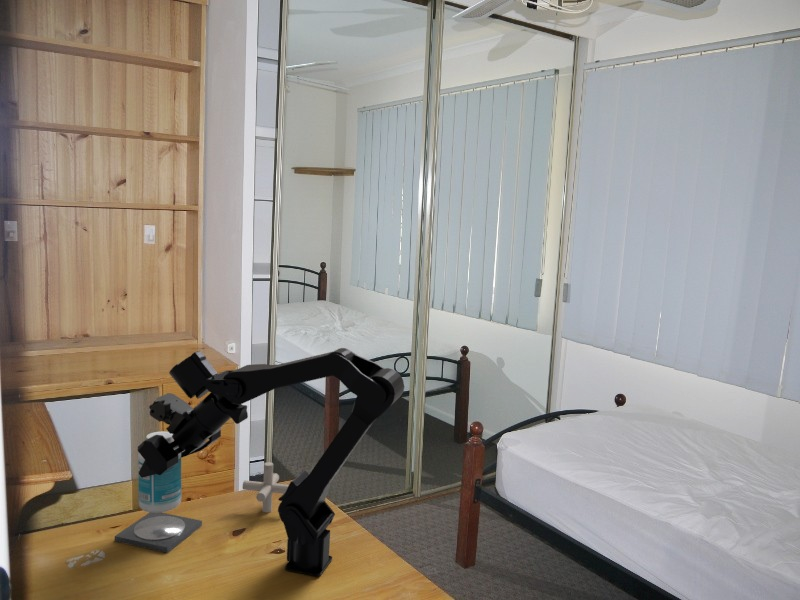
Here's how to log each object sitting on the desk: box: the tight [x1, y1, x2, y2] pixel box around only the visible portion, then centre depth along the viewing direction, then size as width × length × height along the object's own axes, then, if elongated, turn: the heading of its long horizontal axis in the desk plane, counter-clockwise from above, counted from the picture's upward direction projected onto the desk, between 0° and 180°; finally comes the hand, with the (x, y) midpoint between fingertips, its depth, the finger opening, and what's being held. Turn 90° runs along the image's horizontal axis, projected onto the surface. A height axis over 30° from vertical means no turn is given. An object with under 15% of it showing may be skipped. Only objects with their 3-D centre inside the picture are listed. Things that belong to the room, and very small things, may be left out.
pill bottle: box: [137, 430, 182, 513], centre depth 122 cm, size 8×7×14 cm
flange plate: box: [114, 512, 203, 554], centre depth 124 cm, size 11×11×1 cm
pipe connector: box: [242, 461, 289, 514], centre depth 135 cm, size 10×10×10 cm
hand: (153, 467), depth 123 cm, fingers closed on pill bottle, 7 cm apart
